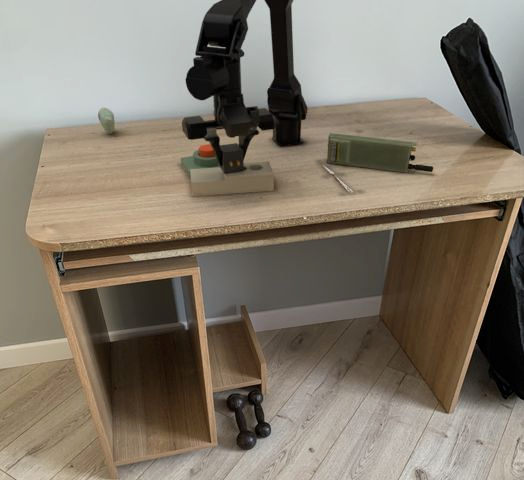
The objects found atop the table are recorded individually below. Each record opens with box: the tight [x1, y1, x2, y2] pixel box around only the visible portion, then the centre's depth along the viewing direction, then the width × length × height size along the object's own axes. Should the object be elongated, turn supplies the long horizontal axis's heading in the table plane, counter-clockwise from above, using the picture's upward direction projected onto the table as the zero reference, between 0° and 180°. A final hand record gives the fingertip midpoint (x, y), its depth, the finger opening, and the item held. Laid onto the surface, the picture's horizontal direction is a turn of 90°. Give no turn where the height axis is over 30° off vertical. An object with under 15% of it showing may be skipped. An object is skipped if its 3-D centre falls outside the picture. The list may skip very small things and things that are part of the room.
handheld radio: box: [326, 132, 434, 174], centre depth 119 cm, size 7×3×25 cm
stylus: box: [322, 164, 354, 194], centre depth 117 cm, size 4×1×19 cm
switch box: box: [180, 149, 219, 180], centre depth 121 cm, size 12×9×4 cm
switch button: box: [198, 143, 215, 158], centre depth 119 cm, size 4×4×2 cm
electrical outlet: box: [190, 160, 275, 197], centre depth 113 cm, size 7×4×18 cm
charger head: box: [219, 142, 244, 174], centre depth 109 cm, size 4×6×5 cm
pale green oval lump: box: [97, 107, 116, 135], centre depth 138 cm, size 8×4×7 cm, turn 14°
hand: (230, 164), depth 111 cm, fingers closed on charger head, 4 cm apart
